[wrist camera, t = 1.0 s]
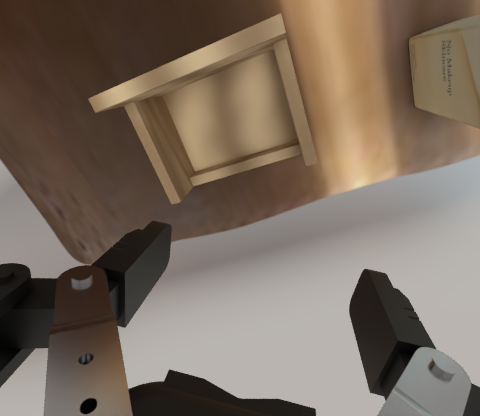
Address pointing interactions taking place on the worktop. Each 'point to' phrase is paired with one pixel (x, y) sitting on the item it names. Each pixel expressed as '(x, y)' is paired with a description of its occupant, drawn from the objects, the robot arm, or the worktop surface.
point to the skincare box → (448, 70)
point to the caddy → (218, 109)
